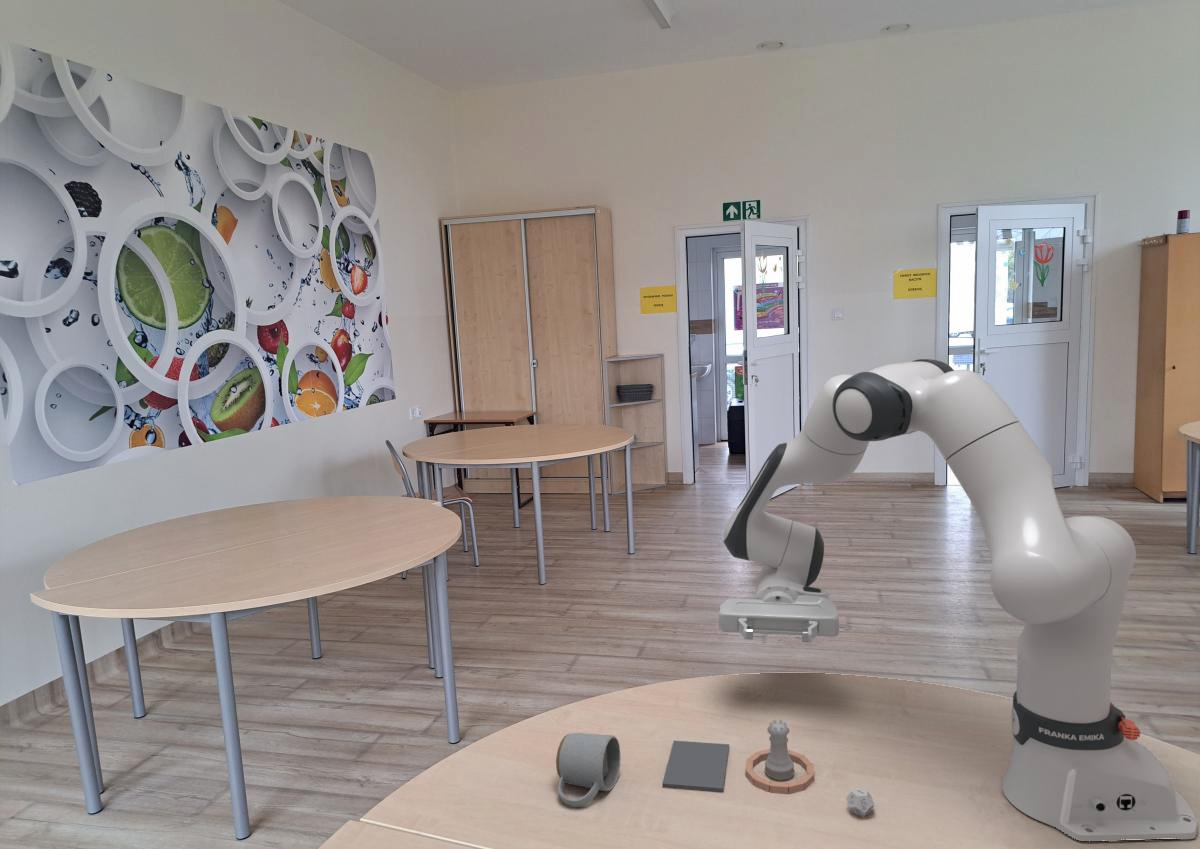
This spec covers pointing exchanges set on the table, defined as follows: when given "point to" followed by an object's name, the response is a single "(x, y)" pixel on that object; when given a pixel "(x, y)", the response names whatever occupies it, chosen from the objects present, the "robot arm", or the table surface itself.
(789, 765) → the rook chess piece
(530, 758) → the table surface
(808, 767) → the terracotta ring
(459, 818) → the table surface
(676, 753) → the charcoal mat
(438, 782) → the table surface
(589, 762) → the ceramic mug
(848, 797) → the game die
